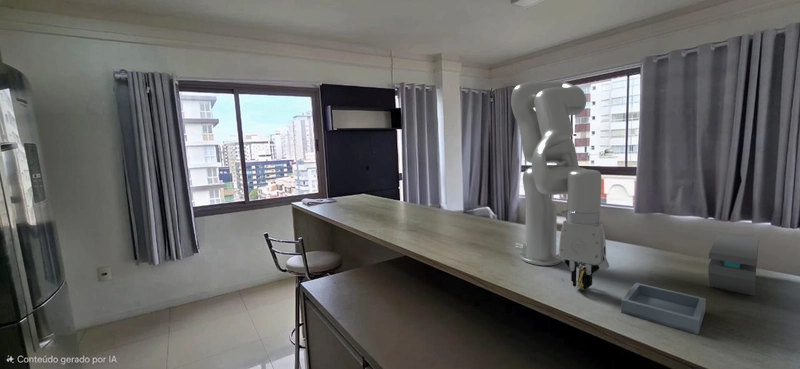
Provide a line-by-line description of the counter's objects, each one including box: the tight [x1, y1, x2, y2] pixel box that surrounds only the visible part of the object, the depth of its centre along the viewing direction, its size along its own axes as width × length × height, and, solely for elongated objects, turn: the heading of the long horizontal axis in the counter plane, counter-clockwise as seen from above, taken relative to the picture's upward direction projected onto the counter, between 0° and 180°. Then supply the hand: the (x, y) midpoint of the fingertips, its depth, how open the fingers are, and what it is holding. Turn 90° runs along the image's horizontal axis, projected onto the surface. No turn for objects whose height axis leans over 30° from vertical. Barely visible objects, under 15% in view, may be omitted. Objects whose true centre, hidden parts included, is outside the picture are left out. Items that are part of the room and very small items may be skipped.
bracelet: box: [575, 262, 586, 291], centre depth 86 cm, size 7×3×8 cm, turn 135°
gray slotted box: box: [707, 232, 760, 297], centre depth 86 cm, size 25×8×11 cm, turn 132°
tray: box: [620, 282, 707, 336], centre depth 74 cm, size 13×13×3 cm
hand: (581, 285), depth 86 cm, fingers closed on bracelet, 2 cm apart
